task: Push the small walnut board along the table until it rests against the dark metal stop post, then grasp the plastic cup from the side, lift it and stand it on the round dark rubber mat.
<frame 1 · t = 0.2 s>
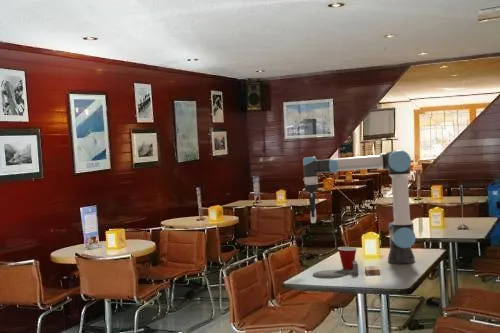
hand: (313, 221, 318), 28 cm above the table, tool pointing down, fingers open, 13 cm apart
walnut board: (372, 273, 301), on the table
bench dog: (355, 273, 302), on the table
plastic cup: (348, 269, 316), on the table
mat: (329, 274, 304), on the table
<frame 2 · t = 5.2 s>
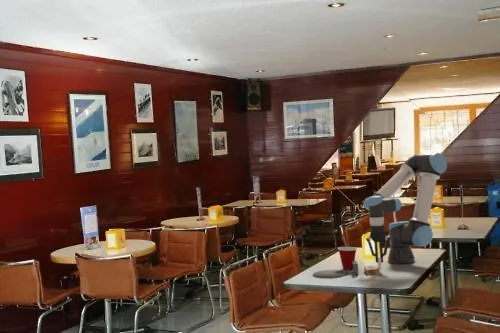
hand: (379, 268, 301), 2 cm above the table, tool pointing down, fingers closed
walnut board: (372, 273, 301), on the table, touching gripper
everything else where it was.
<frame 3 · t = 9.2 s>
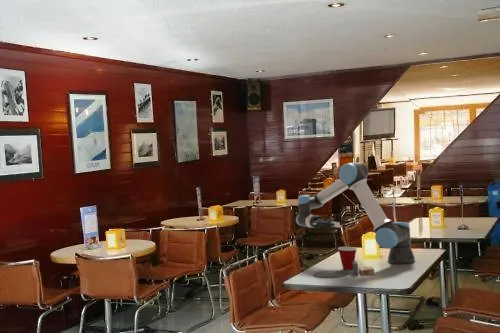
hand: (338, 225, 321), 24 cm above the table, tool horizontal, fingers closed
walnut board: (366, 273, 302), on the table
everything else where it was.
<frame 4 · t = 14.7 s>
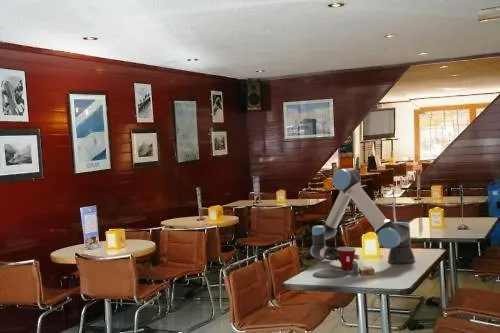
hand: (353, 258, 311), 7 cm above the table, tool horizontal, fingers open, 6 cm apart
plastic cup: (347, 269, 315), on the table, touching gripper
everything else where it was.
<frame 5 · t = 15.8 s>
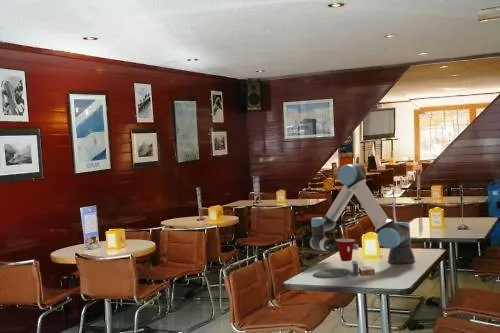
hand: (353, 248, 311), 12 cm above the table, tool horizontal, fingers closed on plastic cup, 5 cm apart
plastic cup: (346, 260, 314), point 5 cm above the table, touching gripper
everything else where it was.
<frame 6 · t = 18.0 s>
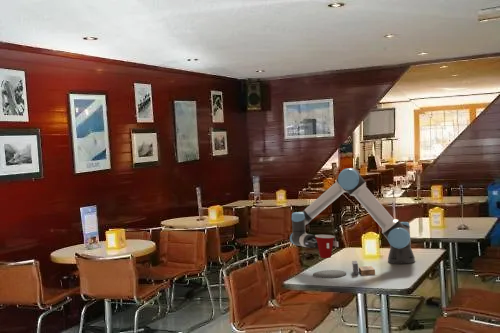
hand: (333, 245, 299), 17 cm above the table, tool horizontal, fingers closed on plastic cup, 5 cm apart
plastic cup: (326, 257, 303), point 10 cm above the table, touching gripper
everything else where it was.
when the fingers open (8 cm above the table, at t = 20.2 s): plastic cup stays where it is, resting on mat.
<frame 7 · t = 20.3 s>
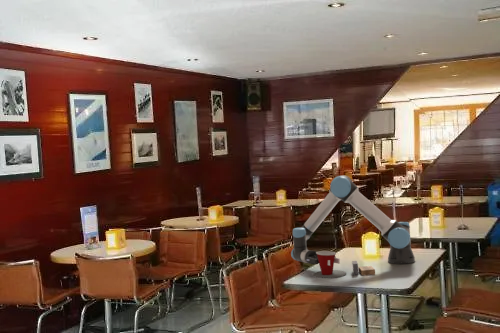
hand: (334, 262, 299), 8 cm above the table, tool horizontal, fingers open, 6 cm apart
plastic cup: (327, 274, 303), resting on mat
everything else where it was.
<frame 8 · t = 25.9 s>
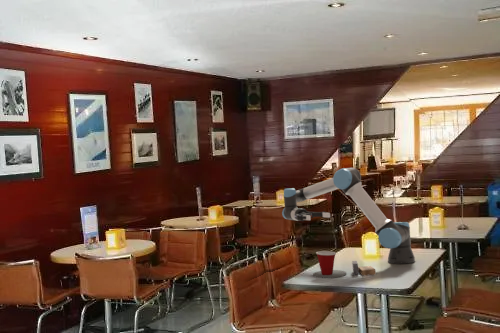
hand: (319, 216, 320), 30 cm above the table, tool horizontal, fingers open, 13 cm apart
nothing on the table moved.
at the end: plastic cup 1.8 cm from the mat (horizontally); plastic cup tilted 0°; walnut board 1.5 cm from the target spot, on the table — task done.
